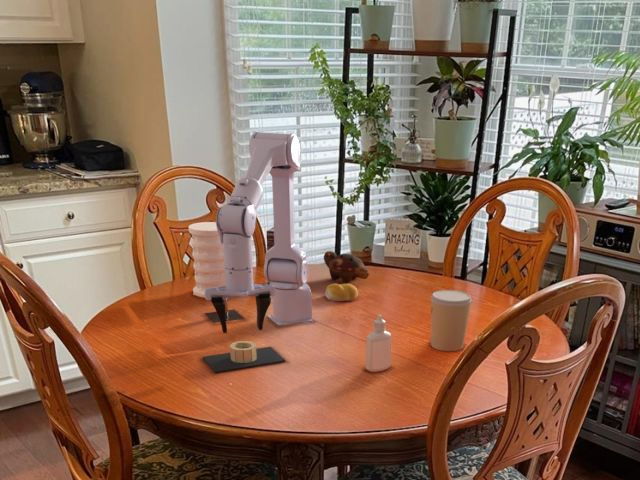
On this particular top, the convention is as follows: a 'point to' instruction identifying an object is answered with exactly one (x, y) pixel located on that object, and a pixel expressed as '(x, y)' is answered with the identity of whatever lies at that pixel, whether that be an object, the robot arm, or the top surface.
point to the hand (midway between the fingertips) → (242, 330)
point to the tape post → (229, 314)
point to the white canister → (449, 319)
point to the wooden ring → (243, 351)
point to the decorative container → (207, 257)
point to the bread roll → (341, 292)
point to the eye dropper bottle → (378, 347)
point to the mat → (226, 364)
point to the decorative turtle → (345, 266)
